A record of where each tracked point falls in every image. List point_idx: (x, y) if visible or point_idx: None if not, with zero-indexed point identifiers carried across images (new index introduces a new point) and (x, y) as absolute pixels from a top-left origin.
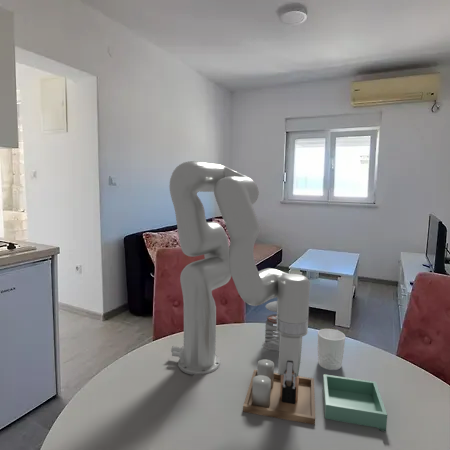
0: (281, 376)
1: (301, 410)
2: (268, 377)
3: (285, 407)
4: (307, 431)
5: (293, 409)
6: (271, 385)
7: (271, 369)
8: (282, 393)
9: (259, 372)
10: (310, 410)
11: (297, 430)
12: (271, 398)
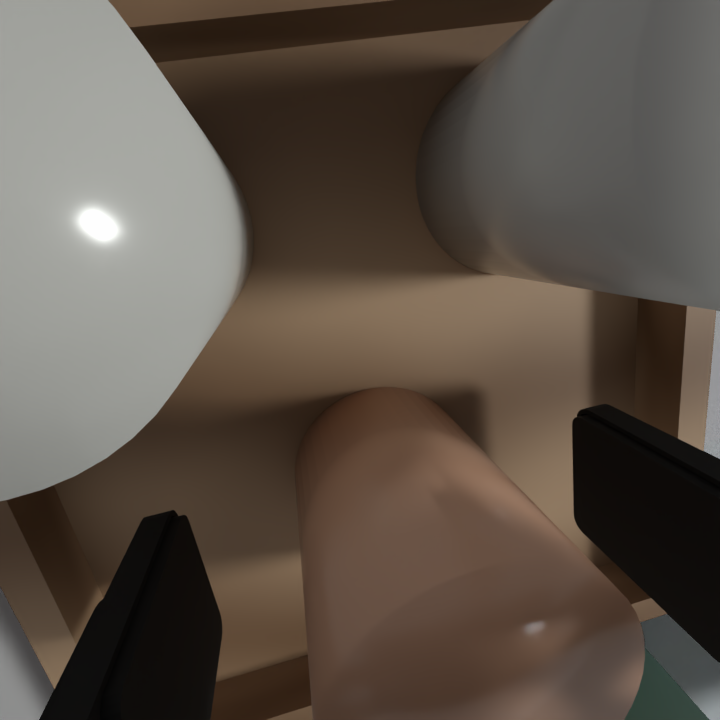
0: (394, 602)
1: (250, 605)
2: (175, 374)
3: (218, 485)
4: (50, 687)
5: (227, 551)
6: (480, 266)
7: (644, 284)
8: (108, 603)
9: (552, 15)
10: (286, 658)
11: (7, 631)
12: (290, 319)
